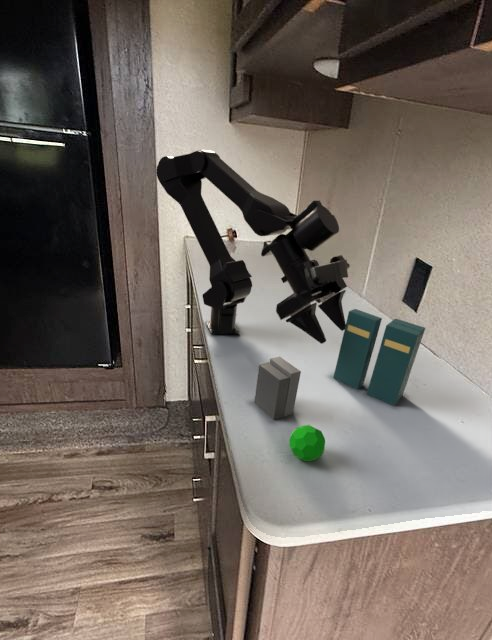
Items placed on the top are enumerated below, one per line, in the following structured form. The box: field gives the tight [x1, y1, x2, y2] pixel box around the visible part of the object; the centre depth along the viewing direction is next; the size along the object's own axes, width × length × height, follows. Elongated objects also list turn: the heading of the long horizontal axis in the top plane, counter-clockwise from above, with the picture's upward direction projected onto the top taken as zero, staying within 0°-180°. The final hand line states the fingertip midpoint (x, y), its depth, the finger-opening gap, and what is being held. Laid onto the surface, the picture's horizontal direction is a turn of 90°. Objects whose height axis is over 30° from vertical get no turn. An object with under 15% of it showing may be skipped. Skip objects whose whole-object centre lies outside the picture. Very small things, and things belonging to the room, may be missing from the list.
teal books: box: [366, 318, 426, 406], centre depth 72 cm, size 6×5×14 cm
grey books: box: [253, 356, 302, 421], centre depth 64 cm, size 6×4×8 cm
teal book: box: [332, 308, 383, 390], centre depth 74 cm, size 6×2×14 cm, turn 52°
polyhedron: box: [288, 424, 326, 462], centre depth 55 cm, size 5×5×5 cm
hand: (334, 335), depth 76 cm, fingers open, 9 cm apart
